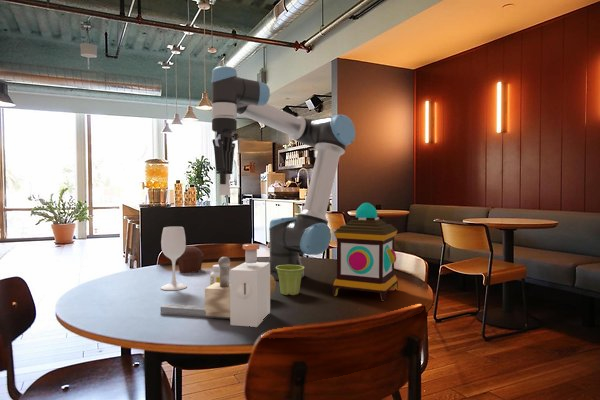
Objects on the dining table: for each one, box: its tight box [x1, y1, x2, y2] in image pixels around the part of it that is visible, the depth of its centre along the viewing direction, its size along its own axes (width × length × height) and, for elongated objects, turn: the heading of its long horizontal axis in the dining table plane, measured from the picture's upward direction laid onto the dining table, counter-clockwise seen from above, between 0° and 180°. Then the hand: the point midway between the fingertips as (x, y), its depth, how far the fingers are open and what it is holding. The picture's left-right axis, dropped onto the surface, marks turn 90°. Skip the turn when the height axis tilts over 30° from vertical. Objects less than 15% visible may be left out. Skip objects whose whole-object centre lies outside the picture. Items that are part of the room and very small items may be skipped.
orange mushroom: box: [242, 243, 260, 263], centre depth 108 cm, size 4×4×5 cm
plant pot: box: [276, 265, 305, 296], centre depth 135 cm, size 9×9×9 cm
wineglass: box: [160, 226, 188, 291], centre depth 142 cm, size 9×9×21 cm
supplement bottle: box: [209, 263, 220, 286], centre depth 132 cm, size 5×5×10 cm
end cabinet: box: [229, 261, 271, 328], centre depth 108 cm, size 7×13×14 cm, turn 168°
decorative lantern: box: [332, 202, 399, 301], centre depth 136 cm, size 20×20×30 cm
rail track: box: [159, 303, 230, 320], centre depth 112 cm, size 22×3×2 cm, turn 78°
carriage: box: [204, 256, 231, 317], centre depth 110 cm, size 8×7×15 cm
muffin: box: [177, 245, 205, 274], centre depth 172 cm, size 12×11×10 cm
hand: (224, 195), depth 127 cm, fingers closed
